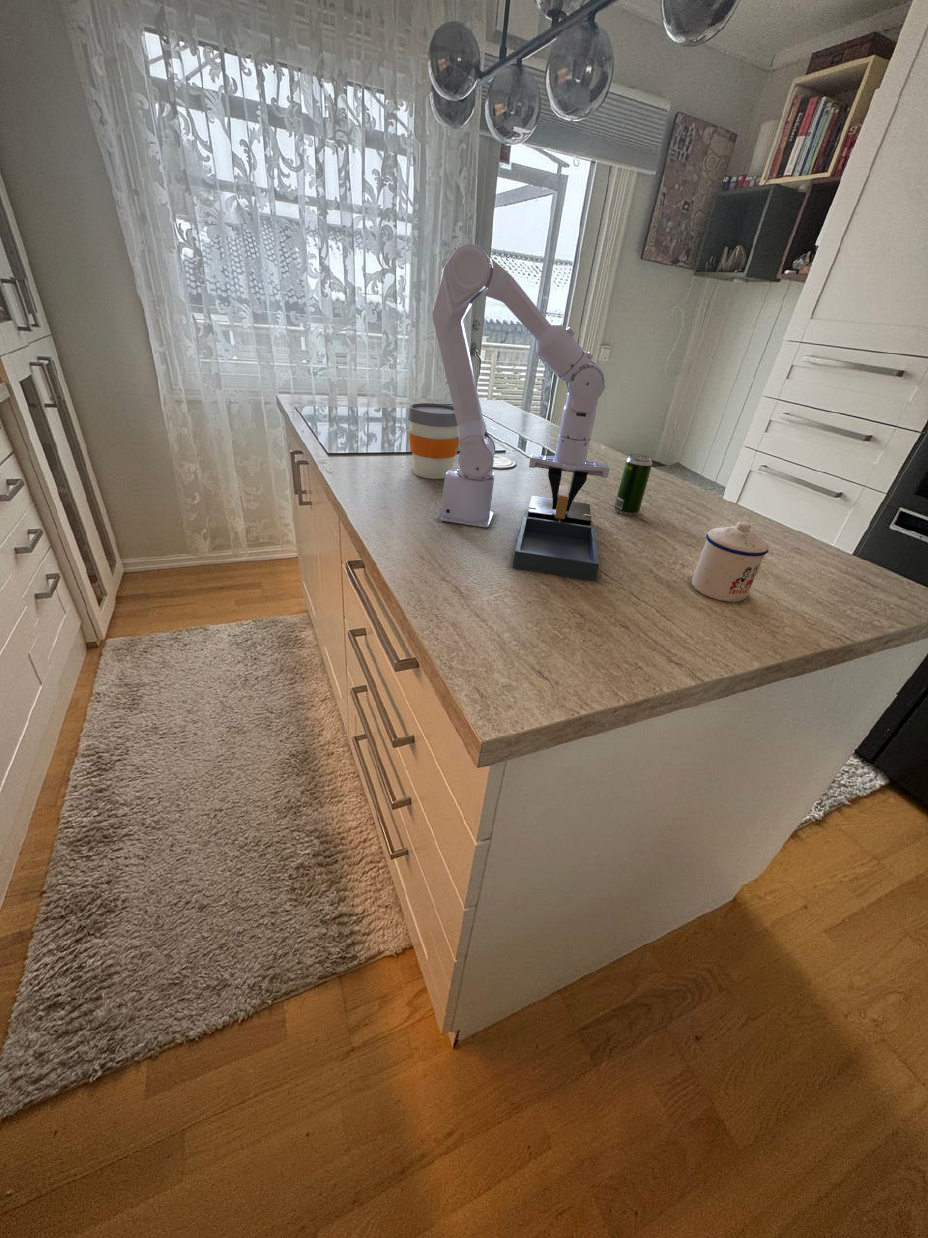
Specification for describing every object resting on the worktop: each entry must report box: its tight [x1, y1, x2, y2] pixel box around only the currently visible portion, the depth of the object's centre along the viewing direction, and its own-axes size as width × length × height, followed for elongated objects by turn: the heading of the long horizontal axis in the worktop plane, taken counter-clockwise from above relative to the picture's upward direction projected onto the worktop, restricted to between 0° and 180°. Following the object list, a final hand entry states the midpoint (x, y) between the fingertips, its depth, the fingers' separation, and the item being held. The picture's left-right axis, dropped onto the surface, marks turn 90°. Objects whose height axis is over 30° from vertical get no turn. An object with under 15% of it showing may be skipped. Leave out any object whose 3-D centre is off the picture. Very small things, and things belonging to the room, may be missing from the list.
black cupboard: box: [527, 495, 592, 526], centre depth 102 cm, size 14×12×4 cm
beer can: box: [614, 453, 653, 517], centre depth 111 cm, size 5×5×12 cm
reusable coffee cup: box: [407, 402, 460, 480], centre depth 122 cm, size 13×13×15 cm
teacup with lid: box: [691, 521, 770, 603], centre depth 83 cm, size 12×9×12 cm
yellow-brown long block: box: [555, 484, 570, 519], centre depth 99 cm, size 8×2×4 cm, turn 170°
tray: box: [512, 516, 600, 582], centre depth 91 cm, size 14×17×3 cm
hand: (560, 508), depth 100 cm, fingers closed on yellow-brown long block, 2 cm apart
